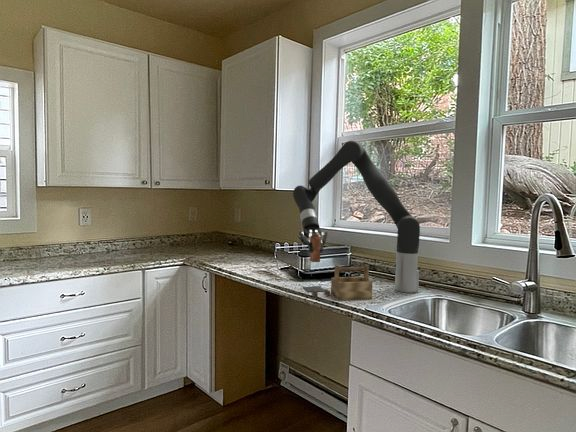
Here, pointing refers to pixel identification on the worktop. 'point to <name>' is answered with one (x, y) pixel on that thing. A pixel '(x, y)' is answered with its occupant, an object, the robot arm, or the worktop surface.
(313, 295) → the keeper
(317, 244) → the reddish brown cylinder
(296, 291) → the worktop surface
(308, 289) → the pad
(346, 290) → the toolbox
